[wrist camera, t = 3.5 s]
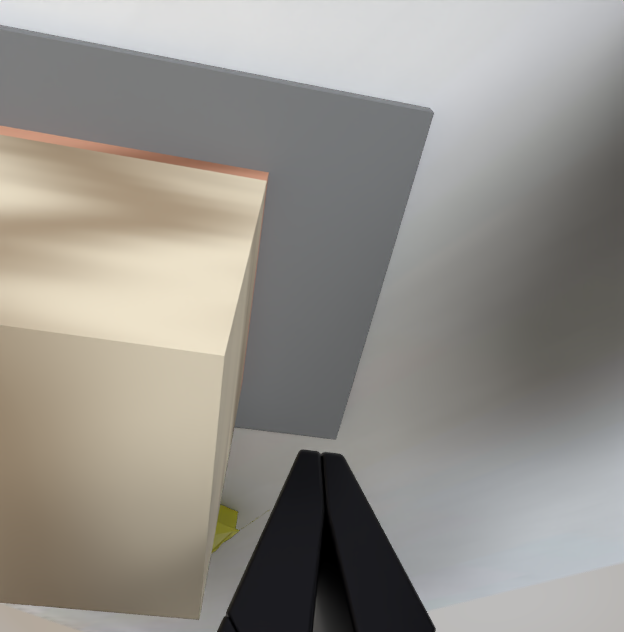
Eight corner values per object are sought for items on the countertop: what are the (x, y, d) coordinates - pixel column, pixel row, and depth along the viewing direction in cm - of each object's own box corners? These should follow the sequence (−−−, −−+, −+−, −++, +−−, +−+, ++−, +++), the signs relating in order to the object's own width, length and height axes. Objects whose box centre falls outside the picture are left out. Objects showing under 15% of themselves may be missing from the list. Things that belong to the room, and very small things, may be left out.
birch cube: (268, 172, 12) (224, 355, 6) (242, 384, 16) (199, 619, 10) (-36, 119, 11) (-418, 266, 5) (15, 354, 15) (-173, 587, 9)
